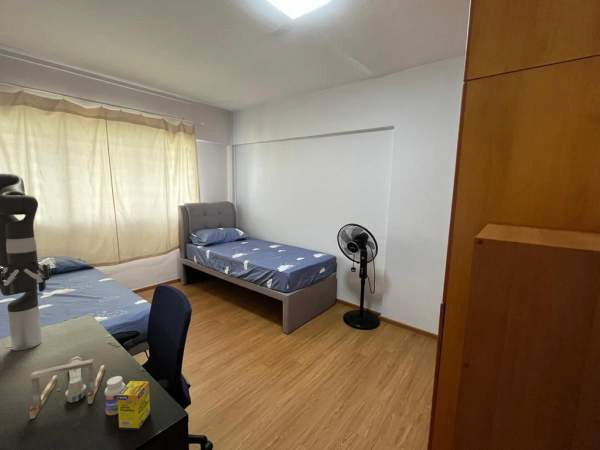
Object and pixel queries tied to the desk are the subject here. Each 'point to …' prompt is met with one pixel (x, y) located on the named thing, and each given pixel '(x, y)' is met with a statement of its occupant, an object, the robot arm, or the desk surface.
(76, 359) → the white electric toothbrush
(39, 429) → the desk surface
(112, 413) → the pill bottle
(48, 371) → the tan holder stand
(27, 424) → the desk surface
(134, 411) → the supplement box
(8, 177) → the robot arm
